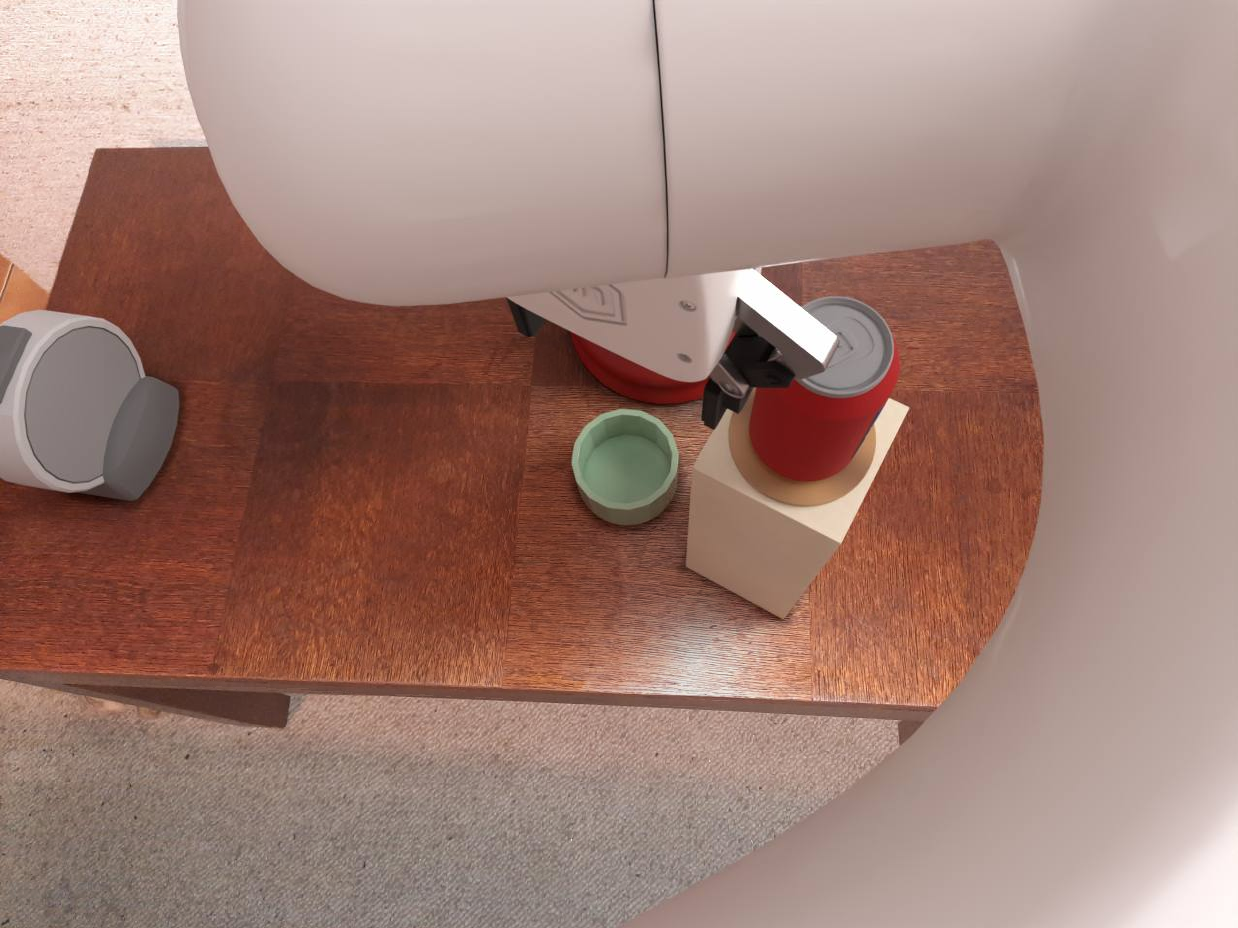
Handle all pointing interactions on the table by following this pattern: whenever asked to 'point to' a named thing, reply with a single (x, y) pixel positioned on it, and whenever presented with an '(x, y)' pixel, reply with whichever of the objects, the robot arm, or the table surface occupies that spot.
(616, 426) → the can holder
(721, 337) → the robot arm
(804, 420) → the beverage can
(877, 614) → the table surface
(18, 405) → the alarm clock
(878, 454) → the block
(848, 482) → the cork pad
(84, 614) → the table surface
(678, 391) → the table lamp
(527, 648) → the table surface
